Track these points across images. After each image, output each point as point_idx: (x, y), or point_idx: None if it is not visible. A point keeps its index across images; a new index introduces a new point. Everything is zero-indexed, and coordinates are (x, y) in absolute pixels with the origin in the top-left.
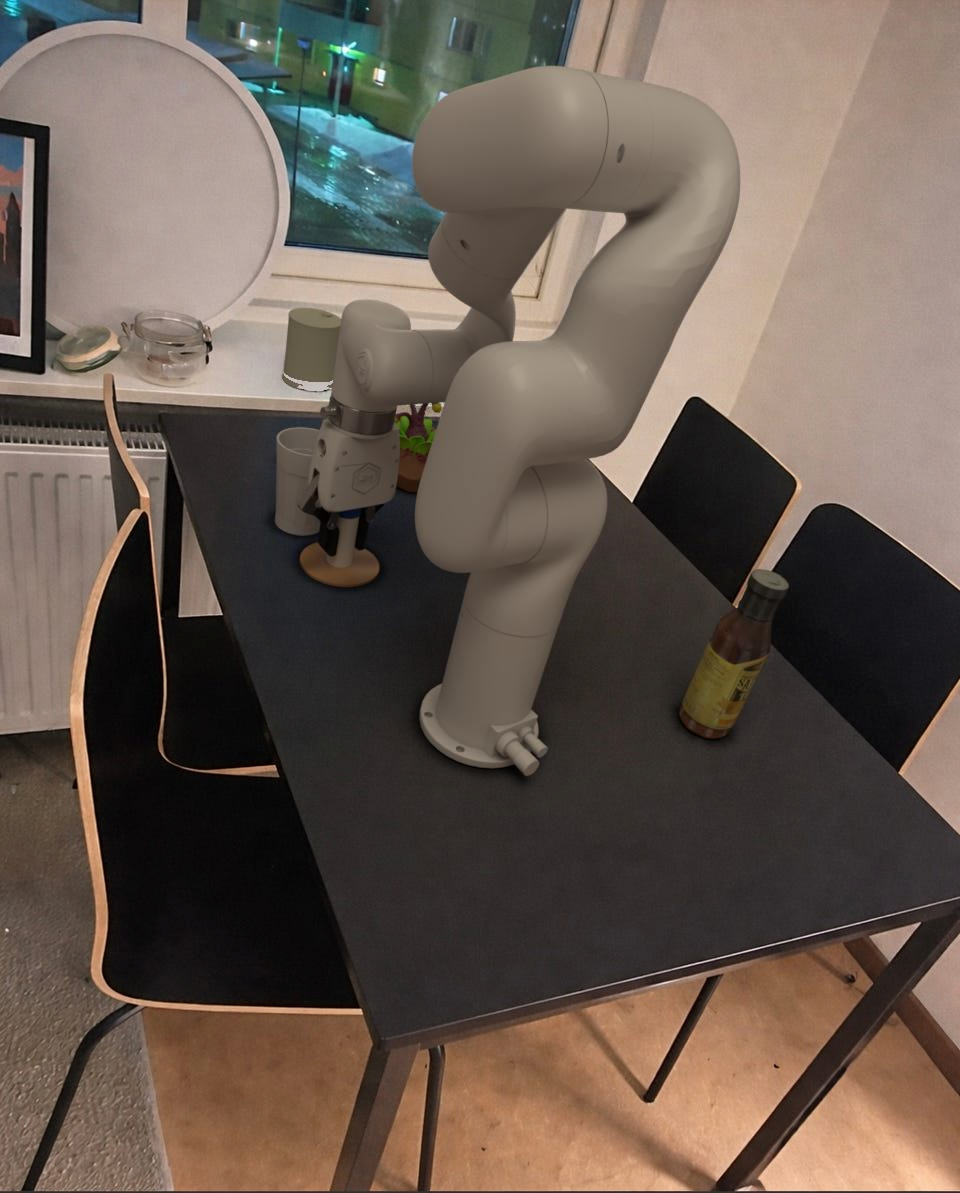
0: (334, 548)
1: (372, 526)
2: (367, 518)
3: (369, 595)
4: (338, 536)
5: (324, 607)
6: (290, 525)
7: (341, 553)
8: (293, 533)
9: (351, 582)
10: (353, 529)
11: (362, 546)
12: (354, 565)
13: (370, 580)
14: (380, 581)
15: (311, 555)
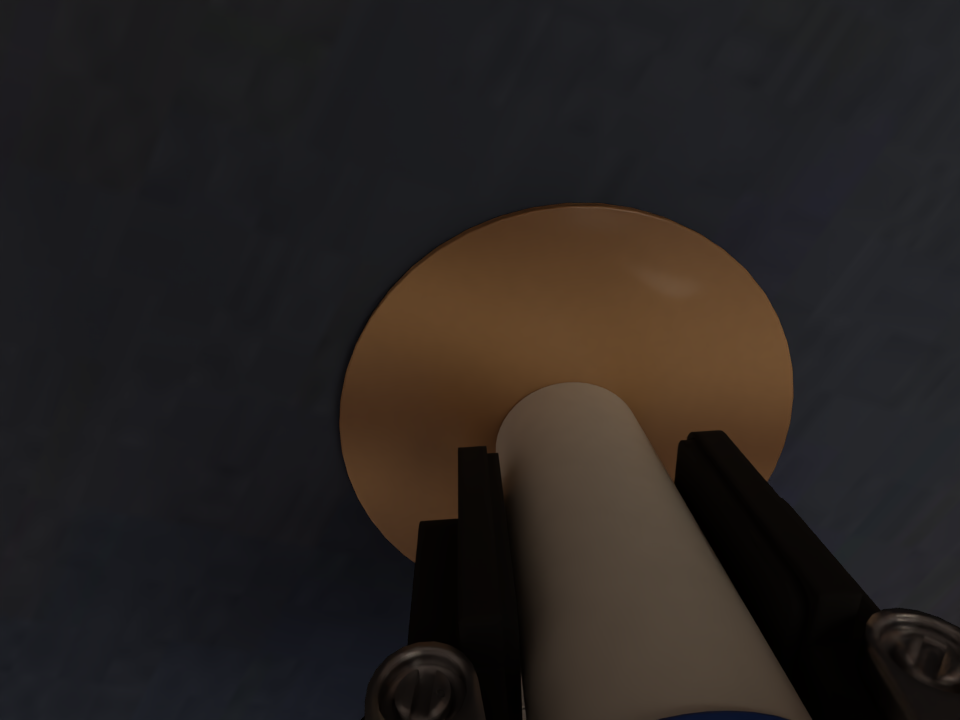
0: (734, 465)
1: (228, 659)
2: (467, 693)
3: (566, 82)
4: (760, 541)
5: (924, 51)
6: None
7: (633, 443)
8: None
9: (624, 232)
10: (631, 584)
11: (474, 462)
12: (507, 386)
13: (485, 224)
14: (412, 211)
15: None
